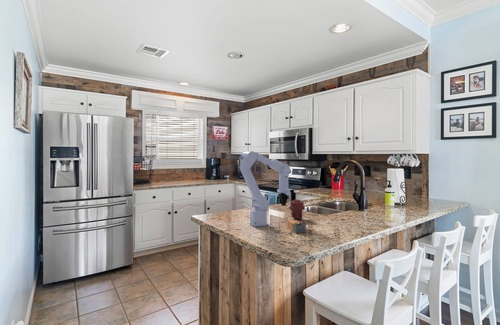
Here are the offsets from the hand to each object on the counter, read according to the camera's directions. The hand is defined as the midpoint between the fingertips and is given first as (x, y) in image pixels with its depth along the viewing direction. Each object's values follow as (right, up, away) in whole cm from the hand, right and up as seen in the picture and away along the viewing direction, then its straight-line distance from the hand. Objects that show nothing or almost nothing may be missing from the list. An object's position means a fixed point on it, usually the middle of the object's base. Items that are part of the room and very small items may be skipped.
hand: (283, 205), depth 166 cm
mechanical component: (+9, -10, +7) cm, 15 cm away
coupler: (+4, -11, -18) cm, 22 cm away
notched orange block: (+4, -11, -17) cm, 21 cm away
